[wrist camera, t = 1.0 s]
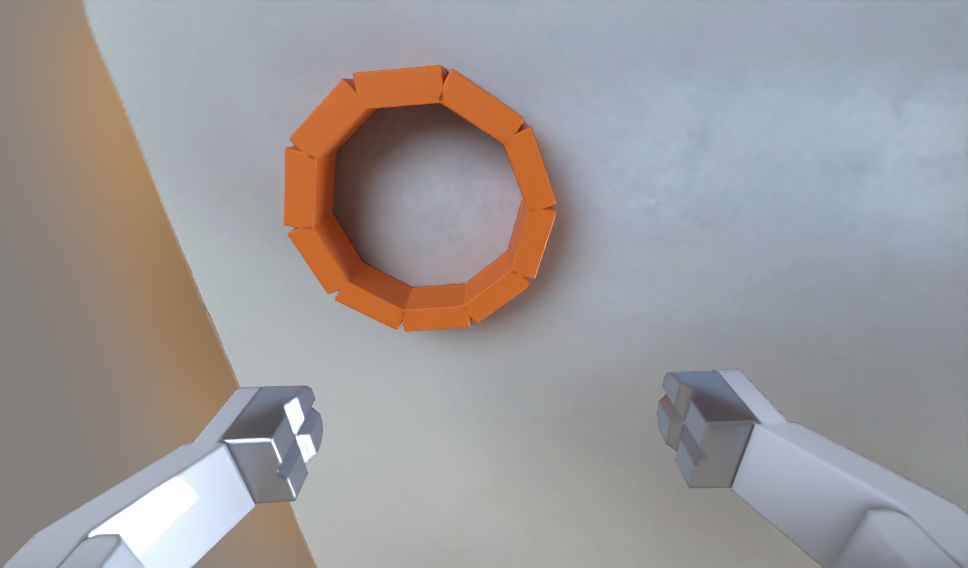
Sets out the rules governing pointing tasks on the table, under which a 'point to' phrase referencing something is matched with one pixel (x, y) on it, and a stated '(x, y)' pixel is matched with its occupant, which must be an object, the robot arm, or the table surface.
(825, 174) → the table surface
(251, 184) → the table surface
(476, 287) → the ring
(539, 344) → the table surface
